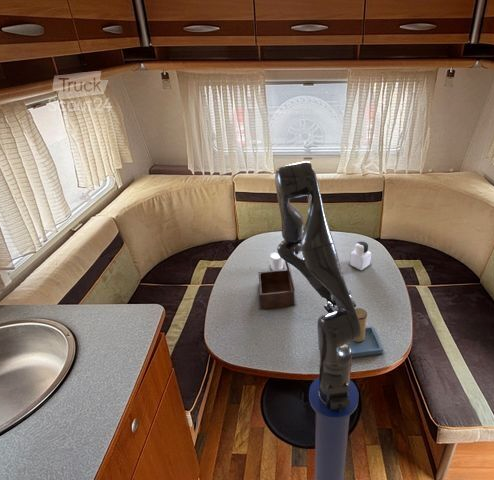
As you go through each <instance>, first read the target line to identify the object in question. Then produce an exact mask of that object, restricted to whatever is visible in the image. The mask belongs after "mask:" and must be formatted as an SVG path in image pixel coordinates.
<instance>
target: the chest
mask: <svg viewBox="0 0 494 480" xmlns="http://www.w3.org/2000/svg"><path fill="white" fill-rule="evenodd" d="M258 287H259V299H260V300H259V302H260V310H264V309H265V310H266V309H273V308H282V307H283V308H285V307H293V306H295V291H293V290H292V286H291V282H290V279H289V275H288V271H287V268H286V269H282V270H264V271H263V270H262V271H258Z"/></svg>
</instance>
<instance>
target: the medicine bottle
mask: <svg viewBox="0 0 494 480" xmlns="http://www.w3.org/2000/svg"><path fill="white" fill-rule="evenodd" d="M371 259H372V252H371V251H369V244H368V243H367V242H366V241H363V240H362V241H357V242H355V245H354V250H353V251H351V252H350V259H349V265H350V266H352V267H354V268H356V269H358V270H359V271H363V270H365V268H367V267H368V266H370V265H371V261H372V260H371Z"/></svg>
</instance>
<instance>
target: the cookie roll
mask: <svg viewBox="0 0 494 480" xmlns="http://www.w3.org/2000/svg"><path fill="white" fill-rule="evenodd" d="M355 310H356V313H357V315H358V318H359V321H360V325H361V336H360V338H359V339H357V340H355V341H353V342H355V343H362V342H363V341H364V338H365V328H366V327H367V320H368V319H367V318H368V312H367V311H366V310H365V309H364V308H362V307H361V308H360V307H358V308H355Z"/></svg>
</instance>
